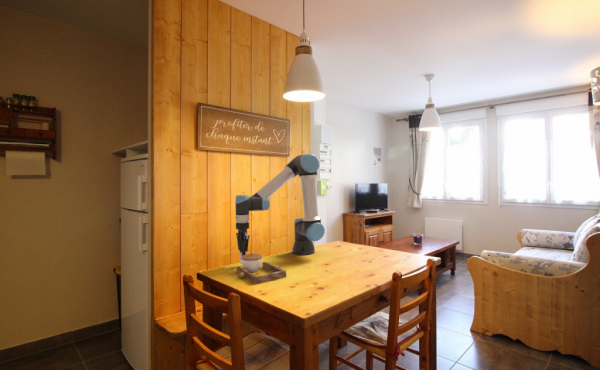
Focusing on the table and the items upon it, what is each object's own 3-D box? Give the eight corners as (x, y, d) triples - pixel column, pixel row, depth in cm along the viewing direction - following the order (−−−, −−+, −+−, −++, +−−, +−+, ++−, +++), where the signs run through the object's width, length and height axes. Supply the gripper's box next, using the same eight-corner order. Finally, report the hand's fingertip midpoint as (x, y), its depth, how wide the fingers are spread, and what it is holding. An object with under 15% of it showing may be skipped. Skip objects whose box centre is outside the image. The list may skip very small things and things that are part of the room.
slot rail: (268, 266, 168) (268, 260, 168) (290, 275, 151) (290, 269, 150) (231, 273, 155) (231, 267, 155) (250, 285, 138) (250, 278, 138)
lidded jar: (258, 273, 154) (257, 255, 154) (238, 272, 156) (238, 255, 156) (264, 268, 165) (264, 251, 165) (246, 267, 167) (246, 250, 167)
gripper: (231, 221, 172) (232, 261, 173) (241, 223, 162) (241, 267, 162) (243, 220, 177) (244, 259, 177) (253, 222, 166) (254, 264, 166)
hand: (243, 263), depth 170 cm, fingers closed
